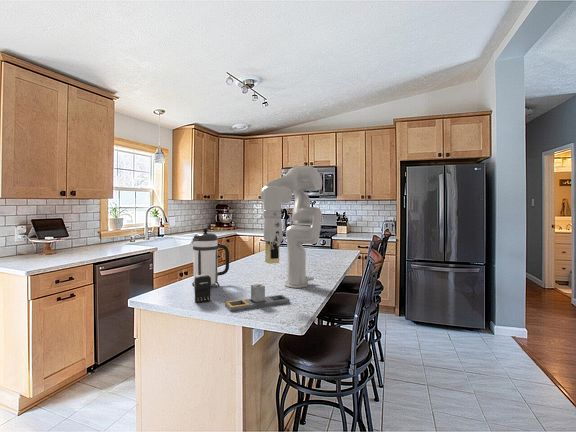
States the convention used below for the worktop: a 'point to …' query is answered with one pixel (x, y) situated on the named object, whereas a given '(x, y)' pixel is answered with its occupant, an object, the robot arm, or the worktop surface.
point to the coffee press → (208, 256)
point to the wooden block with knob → (269, 254)
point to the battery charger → (202, 288)
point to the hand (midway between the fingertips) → (272, 257)
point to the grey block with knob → (257, 293)
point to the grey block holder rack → (249, 305)
